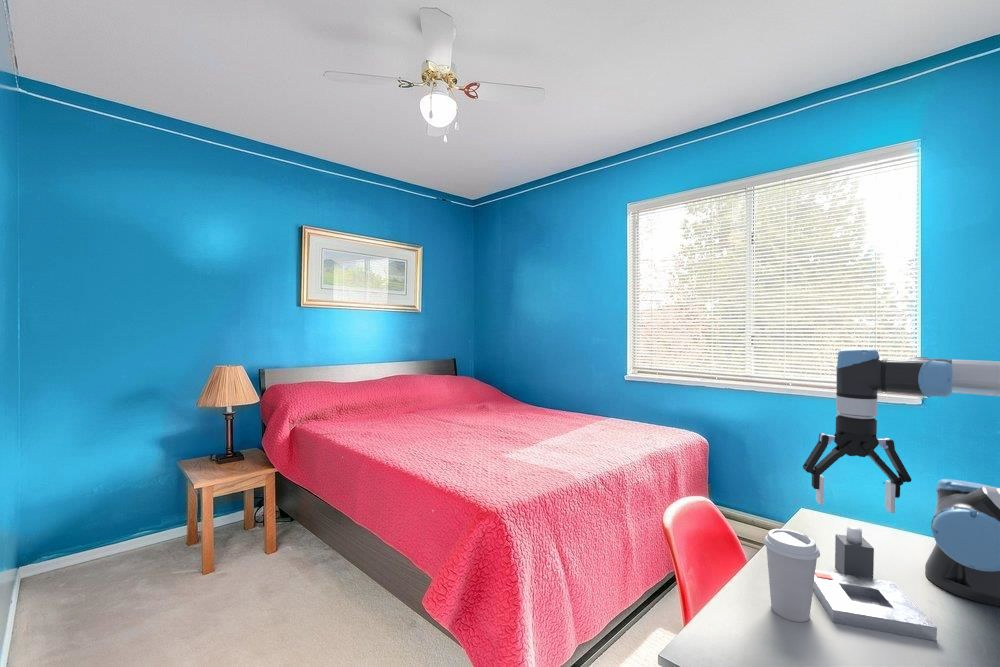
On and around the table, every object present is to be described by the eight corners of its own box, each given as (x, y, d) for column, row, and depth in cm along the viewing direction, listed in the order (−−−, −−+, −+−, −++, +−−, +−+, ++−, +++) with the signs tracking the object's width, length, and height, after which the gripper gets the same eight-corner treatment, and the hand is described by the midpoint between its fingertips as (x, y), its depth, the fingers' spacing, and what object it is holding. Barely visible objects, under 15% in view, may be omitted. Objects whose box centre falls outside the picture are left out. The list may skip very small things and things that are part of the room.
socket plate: (892, 593, 98) (893, 581, 98) (936, 641, 83) (936, 626, 83) (806, 579, 103) (806, 567, 103) (833, 622, 88) (833, 608, 88)
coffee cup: (828, 630, 86) (830, 551, 85) (773, 623, 87) (774, 545, 87) (805, 601, 95) (806, 529, 95) (755, 595, 97) (756, 525, 97)
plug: (862, 571, 107) (863, 525, 107) (873, 583, 102) (874, 534, 102) (834, 567, 109) (835, 521, 109) (844, 579, 104) (844, 531, 103)
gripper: (913, 416, 105) (911, 508, 105) (789, 409, 113) (787, 494, 113) (932, 422, 98) (930, 521, 98) (798, 414, 105) (796, 505, 106)
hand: (854, 507), depth 105 cm, fingers open, 13 cm apart
